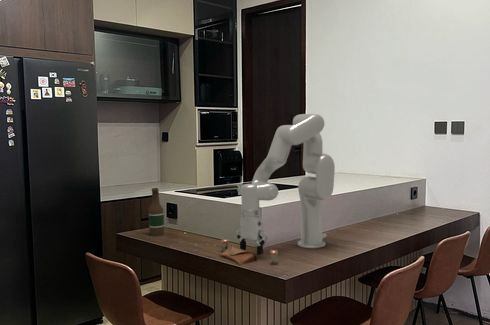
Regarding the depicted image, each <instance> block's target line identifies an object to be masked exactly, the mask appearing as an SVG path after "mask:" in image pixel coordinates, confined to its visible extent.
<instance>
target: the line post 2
mask: <svg viewBox="0 0 490 325" xmlns="http://www.w3.org/2000/svg"><path fill="white" fill-rule="evenodd" d="M278 254H279V253H278V250H277V249H271V250H269V264H270V265H278V263H279V262H278Z"/></svg>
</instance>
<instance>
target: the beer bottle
mask: <svg viewBox="0 0 490 325" xmlns="http://www.w3.org/2000/svg"><path fill="white" fill-rule="evenodd" d="M164 214H165V213H164V208H163V206H162V205H161V202H160V194H159V188H158V187H153V188H151V204H150V205H149V208H148V226H149V228H148V229H149V235H150V236H152V237H160V236H163V235H164V234H165V215H164Z"/></svg>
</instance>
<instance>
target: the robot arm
mask: <svg viewBox="0 0 490 325" xmlns="http://www.w3.org/2000/svg"><path fill="white" fill-rule="evenodd" d="M324 127H325V119H324V117H323V116H321V115H320V114H319V113H302V114H297V115H295V116H294V117H293V119H292V124H284V125H280V126H279V127H277V129H276V131H275V134H274V136H273V139H272V141H271V144H270V148H269V150H268V154H267V156H266V158H264V160H263V161H262V162H261V163H260V164H259V166H258V167H257V169H256V171H255V173H254V175H253V178H252V180H251V183H244V184H243V185H241V188H240V191H241V215H240V222H239V228H238V229H236V230H235V233H236V237H237V239H238V242H239V248H240V249H242V250H245V251H247V241H246V240H248V241H254V242H256V244H257V246H256V256H261V255H263V254H264V245H265V243H266V242H267V239H268V236H267V234H266V233H264V225H263V220H262V216H261V214H262V213H261V211H260V201H273V200H274V199H276V198H277V197H278V195H279V189H278V187H277V185H276V184H274V183H272V182H268V181H269V178H270V177H271V175H272V174H273V173H274V172H276V170H278V169H280V168H281V167H283V166H284V165H285V164H287V161H288V160H287V159H288V157H289V155H290V152H291V149H292V146H299V145H301V144H303V155H302V168H303V171H304V172H306V173H308V174H312V175H315V176H312V175H311V176H309V175H308V176H304V177H302V178H301V179H300V181H299V182H298V195H299V200H300V240H298V241H297V246H298V247H301V248H305V249H320V248H323V247H325V246H326V242H325V241H324V240H323V239H324V238H327V233H325V232H324V233H323V227H322V226H323V222H322V220H323V217H322V215H323V210H322V202H321V201H326V200H329V199H330V198H331V196H332V194H333V191H334V186H335V170H336V169H335V162H334V159H333V158H332V156H331V155H329V154H327V153H323V138H322V137H323V136H322V135H321V132H322V131H323V129H324Z"/></svg>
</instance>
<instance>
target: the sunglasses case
mask: <svg viewBox="0 0 490 325" xmlns="http://www.w3.org/2000/svg"><path fill="white" fill-rule="evenodd" d="M218 257H222V258H223V259H227V260H228V261H231V262H234V263H236V264H238V265H239V266H240V265H241V266H242V265H246V264H250V263H254V262H255V263H256V262H257V260H258V258H257V257H258V256H257V254H256V253H253V252H250V251H247V250H242V249H240V247H236V246H234V245H233V244H231V245H230V246H228V249H227V250H225V251H224V252H221V253H220V254H219V255H218Z"/></svg>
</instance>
